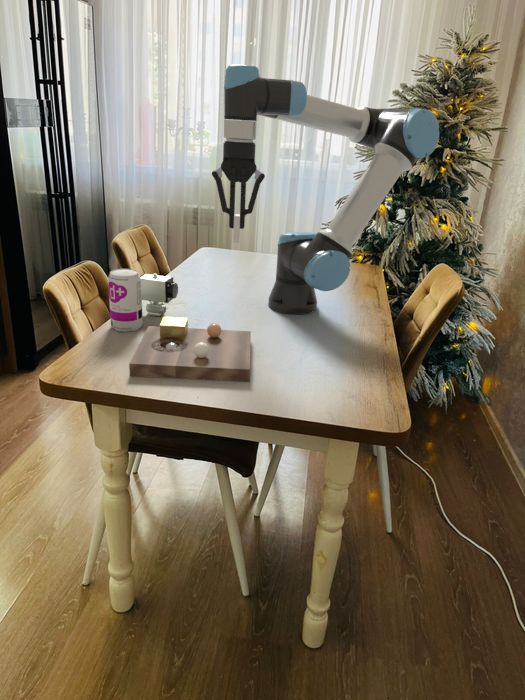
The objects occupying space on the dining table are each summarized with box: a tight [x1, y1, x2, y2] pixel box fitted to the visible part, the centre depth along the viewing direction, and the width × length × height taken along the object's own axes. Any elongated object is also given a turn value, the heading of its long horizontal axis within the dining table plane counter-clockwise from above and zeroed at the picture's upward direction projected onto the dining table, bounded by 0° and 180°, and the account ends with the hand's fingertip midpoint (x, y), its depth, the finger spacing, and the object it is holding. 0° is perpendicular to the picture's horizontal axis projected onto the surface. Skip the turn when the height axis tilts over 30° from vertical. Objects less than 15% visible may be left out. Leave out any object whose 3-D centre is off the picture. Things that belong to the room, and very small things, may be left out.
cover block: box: [159, 316, 189, 338], centre depth 125 cm, size 6×6×3 cm
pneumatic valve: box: [140, 273, 179, 318], centre depth 143 cm, size 6×12×12 cm, turn 78°
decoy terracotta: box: [206, 323, 222, 338], centre depth 124 cm, size 4×4×4 cm
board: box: [128, 325, 252, 383], centre depth 120 cm, size 26×22×3 cm
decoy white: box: [194, 342, 209, 358], centre depth 113 cm, size 4×4×4 cm
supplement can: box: [107, 268, 144, 333], centre depth 132 cm, size 8×8×15 cm
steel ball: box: [165, 343, 178, 349], centre depth 120 cm, size 4×4×4 cm
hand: (236, 241), depth 128 cm, fingers closed
